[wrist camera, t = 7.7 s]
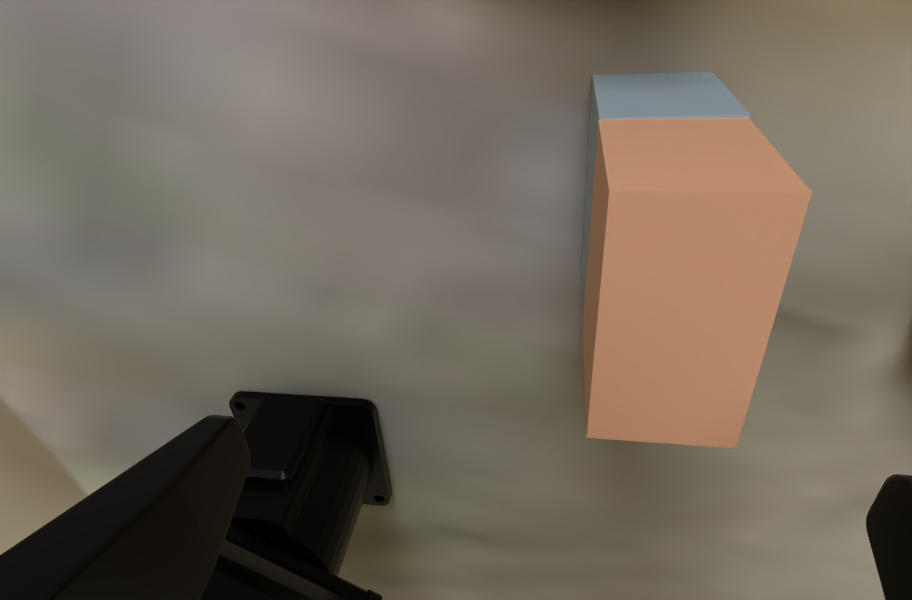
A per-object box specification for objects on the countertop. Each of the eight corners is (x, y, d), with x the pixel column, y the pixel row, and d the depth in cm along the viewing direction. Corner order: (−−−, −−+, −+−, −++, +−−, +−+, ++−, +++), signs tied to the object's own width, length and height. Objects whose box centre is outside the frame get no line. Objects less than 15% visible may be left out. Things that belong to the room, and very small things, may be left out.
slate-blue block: (680, 262, 19) (703, 335, 16) (580, 260, 20) (583, 330, 17) (712, 71, 16) (750, 115, 13) (592, 74, 17) (599, 118, 13)
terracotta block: (701, 337, 16) (736, 448, 13) (582, 332, 17) (586, 437, 13) (749, 118, 13) (812, 192, 10) (598, 119, 13) (609, 191, 10)
